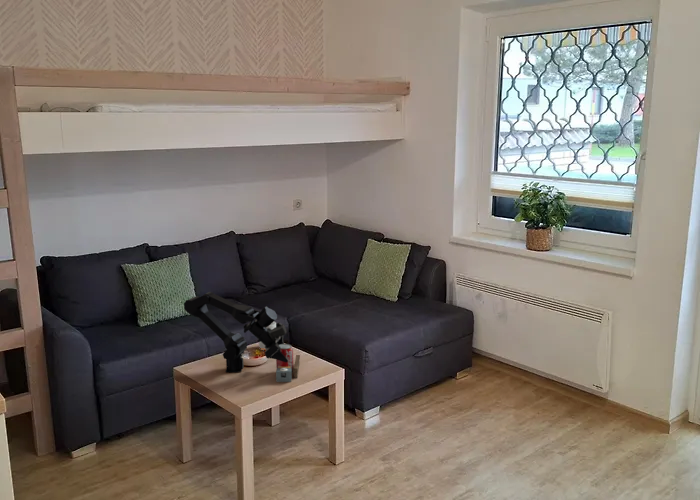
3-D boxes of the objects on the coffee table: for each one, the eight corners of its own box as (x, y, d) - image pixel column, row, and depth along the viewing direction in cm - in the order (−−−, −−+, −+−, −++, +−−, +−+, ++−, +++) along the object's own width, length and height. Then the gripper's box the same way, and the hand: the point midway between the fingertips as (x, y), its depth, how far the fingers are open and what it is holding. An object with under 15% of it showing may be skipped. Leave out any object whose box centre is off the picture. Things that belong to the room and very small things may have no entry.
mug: (263, 354, 295) (262, 329, 292) (256, 346, 305) (256, 321, 303) (280, 352, 298) (280, 327, 295) (273, 343, 308) (273, 319, 306)
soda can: (294, 370, 277) (294, 343, 275) (291, 376, 271) (291, 349, 268) (278, 369, 278) (278, 342, 276) (274, 376, 271) (274, 348, 269)
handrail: (293, 378, 270) (293, 368, 269) (296, 364, 284) (296, 354, 283) (297, 378, 270) (297, 368, 269) (299, 364, 284) (299, 354, 283)
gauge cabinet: (276, 381, 266) (276, 370, 265) (277, 378, 269) (276, 367, 268) (291, 381, 266) (290, 370, 265) (291, 378, 269) (291, 367, 268)
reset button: (277, 377, 267) (277, 370, 266) (278, 373, 271) (278, 366, 270) (290, 377, 267) (289, 370, 266) (290, 373, 271) (290, 366, 270)
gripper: (272, 326, 260) (300, 352, 263) (276, 312, 278) (303, 336, 281) (253, 345, 262) (281, 371, 264) (258, 329, 280) (285, 354, 282)
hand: (288, 357), depth 273 cm, fingers open, 9 cm apart
